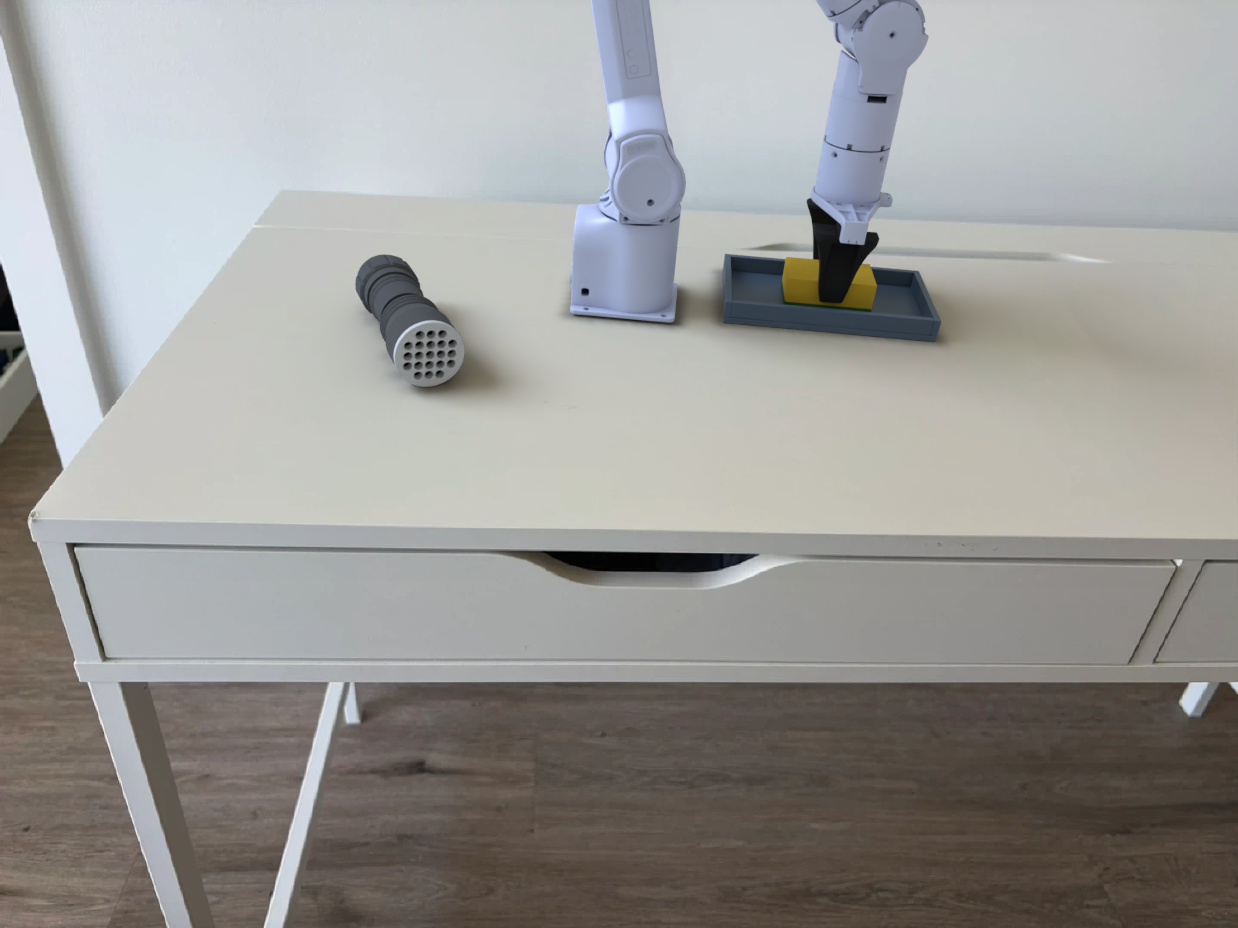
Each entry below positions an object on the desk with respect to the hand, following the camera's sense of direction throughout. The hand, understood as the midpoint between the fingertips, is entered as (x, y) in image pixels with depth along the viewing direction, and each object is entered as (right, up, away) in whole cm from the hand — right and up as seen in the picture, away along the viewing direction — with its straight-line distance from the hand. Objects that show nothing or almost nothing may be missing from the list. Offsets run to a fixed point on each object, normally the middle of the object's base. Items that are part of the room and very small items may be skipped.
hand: (827, 288), depth 87 cm
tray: (0, -1, +1) cm, 2 cm away
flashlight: (-37, -7, -10) cm, 39 cm away
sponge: (0, -1, +1) cm, 1 cm away
